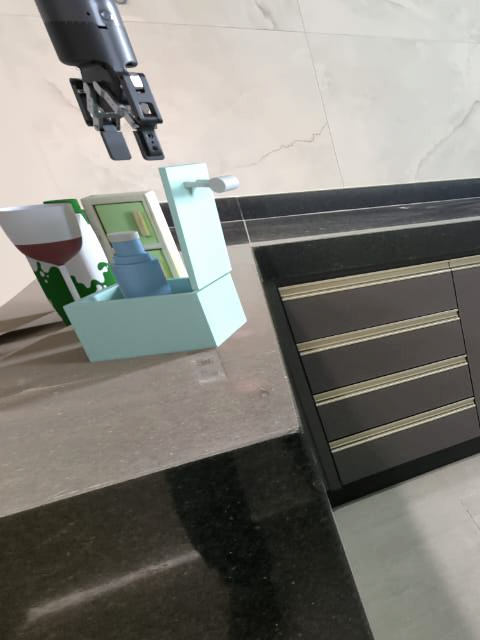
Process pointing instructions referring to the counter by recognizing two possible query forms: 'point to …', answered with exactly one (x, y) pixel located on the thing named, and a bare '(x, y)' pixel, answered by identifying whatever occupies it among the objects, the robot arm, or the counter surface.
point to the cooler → (156, 320)
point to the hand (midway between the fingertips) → (138, 160)
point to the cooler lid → (198, 219)
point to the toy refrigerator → (135, 226)
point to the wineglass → (45, 234)
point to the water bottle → (136, 267)
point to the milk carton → (75, 268)
